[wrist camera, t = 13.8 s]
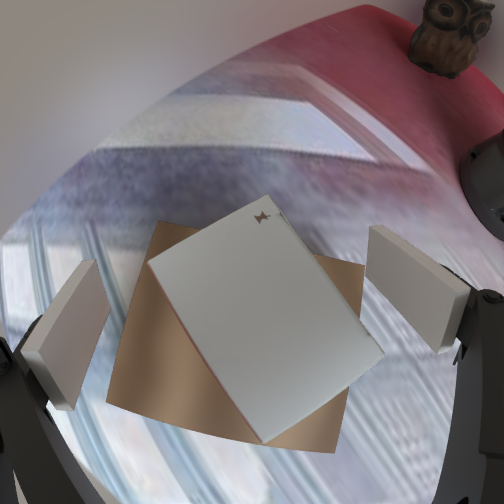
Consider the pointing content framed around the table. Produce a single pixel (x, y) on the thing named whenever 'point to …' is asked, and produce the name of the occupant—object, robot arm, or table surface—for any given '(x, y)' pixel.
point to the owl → (450, 35)
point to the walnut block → (194, 369)
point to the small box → (264, 317)
